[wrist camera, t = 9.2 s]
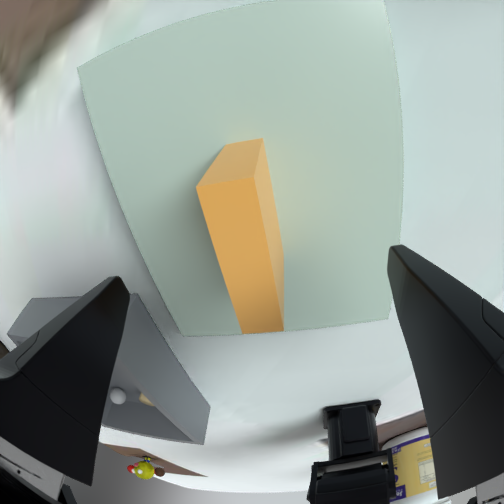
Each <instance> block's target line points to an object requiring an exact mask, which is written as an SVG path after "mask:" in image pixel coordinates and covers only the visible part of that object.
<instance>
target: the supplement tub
mask: <svg viewBox="0 0 504 504" xmlns="http://www.w3.org/2000/svg"><path fill="white" fill-rule="evenodd" d="M430 439H431V438H430V437H429V432H428V427H423V428H419V429H416V430H413V431H410V432H407V433H405V434H402V435H400V436H397V437H395V438H393V439H391V440H390V441H388V442H387V443H386V444H385V445H384V446H383V448H382V450H386V449H387V448H391V449H392V456H393V464H394V472H395V481H396V498H394V499H390V504H451V501H452V500H449V497H446V498H443V499H440V500H438V496H437V486H436V477H435V469H434V462H433V456H432V449H431V443H430ZM384 464H387V461H386V462H383V465H384Z"/></svg>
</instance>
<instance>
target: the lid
mask: <svg viewBox="0 0 504 504" xmlns="http://www.w3.org/2000/svg"><path fill="white" fill-rule="evenodd" d="M77 70H78V74H79V78H80V83H81V87H82V90H83V94H84V98H85V102H86V105H87V109H88V113H89V116H90V119H91V123H92V126H93V129H94V133H95V136H96V139H97V142H98V145H99V148H100V151H101V154H102V157H103V160H104V163H105V166H106V169H107V171H108V174H109V177H110V180H111V182H112V185H113V188H114V190H115V193H116V196H117V198H118V201H119V203H120V206H121V208H122V211H123V213H124V216H125V218H126V221H127V223H128V225H129V228H130V230H131V232H132V235H133V237H134V239H135V242H136V244H137V246H138V248H139V251H140V253H141V255H142V257H143V259H144V261H145V264H146V266H147V268H148V270H149V272H150V274H151V276H152V278H153V280H154V282H155V284H156V286H157V288H158V291H159V293H160V294H161V296H162V298H163V300H164V302H165V304H166V306H167V308H168V310H169V312H170V314H171V316H172V318H173V319H174V321H175V323H176V325H177V327H178V329H179V331H180V332H181V334H182V336H220V335H242V334H259V333H273V332H286V331H297V330H307V329H317V328H326V327H334V326H343V325H350V324H358V323H365V322H371V321H378V320H384V319H388V317H389V312H390V307H391V301H392V291H391V287H390V283H389V279H388V275H387V263H388V252H389V248H390V246H393V245H399V243H400V233H401V220H402V204H403V172H404V157H403V125H402V109H401V98H400V88H399V79H398V71H397V64H396V57H395V51H394V45H393V40H392V34H391V29H390V25H389V20H388V16H387V11H386V7H385V3H384V0H273V1H266V2H259V3H253V4H248V5H242V6H237V7H233V8H228V9H224V10H219V11H215V12H211V13H207V14H204V15H200V16H197V17H193V18H190V19H187V20H183V21H180V22H177V23H174V24H171V25H168V26H166V27H163V28H160V29H157V30H155V31H152V32H150V33H147V34H145V35H142V36H140V37H137V38H135V39H133V40H130V41H128V42H126V43H124V44H122V45H119V46H117V47H115V48H113V49H111V50H109V51H107V52H105V53H103V54H101V55H99V56H97V57H95V58H94V59H92V60H90V61H88V62H86V63H85V64H83V65H81V66H79V67H78V68H77Z"/></svg>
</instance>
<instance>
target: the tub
mask: <svg viewBox="0 0 504 504" xmlns="http://www.w3.org/2000/svg"><path fill="white" fill-rule="evenodd" d="M79 298H81V297H62V298H32V299H31V300H30V301H29V303H28V304H27V305H26V307H25V308H24V309H23V311H22V312H21V314H20V315H19V317H18V318H17V319H16V321H15V322H14V324H13V325H12V327H11V328H10V330H9V331H8V333H7V335H8V336H9V337H10V338H11V340H12V341H13V342H14V343H15V344H16V346H19V345H20V344H21V343H23V342H24V341H25V340H27V339H28V338H29V337H30V336H32V335H33V334H34V333H35V332H37V331H38V330H39V329H41V328H42V327H43V326H44V325H46V324H47V323H48V322H49V321H51V320H52V319H53V318H54V317H56V316H57V315H58V314H60V313H61V312H62V311H64V310H65V309H66V308H67V307H69V306H70V305H71V304H73V303H74V302H75V301H77V300H78V299H79ZM209 412H210V405H209V404H208V403H207V401H206V400H205V399H204V397H203V396H202V395H201V393H200V392H199V390H198V389H197V388H196V386H195V385H194V383H193V382H192V381H191V379H190V378H189V376H188V375H187V373H186V372H185V370H184V369H183V368H182V366H181V365H180V363H179V362H178V360H177V358H176V357H175V355H174V354H173V352H172V351H171V349H170V348H169V346H168V345H167V343H166V341H165V340H164V338H163V337H162V335H161V333H160V332H159V330H158V328H157V327H156V325H155V323H154V322H153V320H152V318H151V317H150V315H149V313H148V311H147V310H146V308H145V306H144V304H143V303H142V301H141V299H140V297H139V296H138V294H130V302H129V307H128V312H127V317H126V322H125V327H124V332H123V336H122V340H121V344H120V347H119V351H118V354H117V358H116V362H115V366H114V370H113V374H112V378H111V382H110V386H109V390H108V395H107V399H106V404H105V408H104V413H103V418H102V423H101V425H102V426H104V427H107V428H111V429H115V430H119V431H123V432H128V433H132V434H137V435H141V436H146V437H152V438H157V439H163V440H169V441H176V442H183V443H191V444H200V445H204V440H205V434H206V429H207V423H208V418H209Z"/></svg>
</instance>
